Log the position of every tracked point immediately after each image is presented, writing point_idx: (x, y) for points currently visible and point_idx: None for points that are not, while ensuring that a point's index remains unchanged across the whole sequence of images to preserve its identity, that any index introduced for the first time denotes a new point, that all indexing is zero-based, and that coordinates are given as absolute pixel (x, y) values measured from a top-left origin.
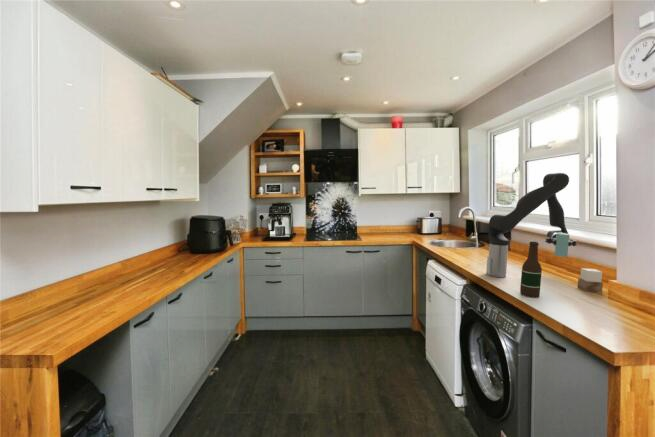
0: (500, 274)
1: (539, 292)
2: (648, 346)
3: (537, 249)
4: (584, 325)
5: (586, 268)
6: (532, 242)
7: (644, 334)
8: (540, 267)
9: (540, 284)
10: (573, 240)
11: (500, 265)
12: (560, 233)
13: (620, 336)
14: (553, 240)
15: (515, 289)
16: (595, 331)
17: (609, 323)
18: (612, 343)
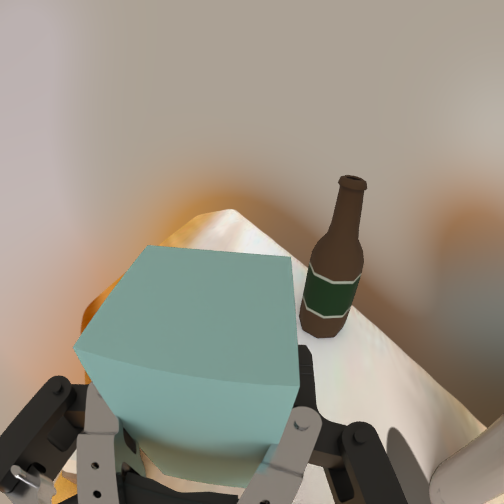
0: (446, 461)
1: (300, 307)
2: (192, 219)
3: (338, 197)
4: (239, 236)
5: (75, 459)
6: (355, 176)
7: (175, 235)
8: (315, 246)
9: (304, 290)
10: (40, 428)
11: (471, 441)
12: (233, 308)
13: (209, 226)
14: (307, 387)
15: (360, 353)
16: (232, 228)
17: (201, 248)
18: (226, 216)
